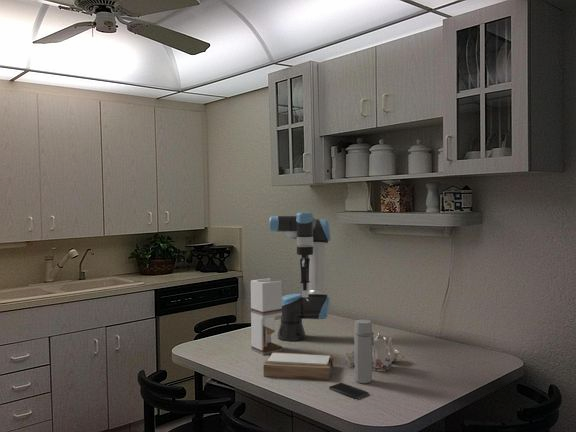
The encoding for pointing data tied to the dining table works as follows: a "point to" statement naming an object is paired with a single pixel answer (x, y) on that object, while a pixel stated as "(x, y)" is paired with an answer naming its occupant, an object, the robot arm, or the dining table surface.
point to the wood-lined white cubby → (265, 314)
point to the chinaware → (379, 354)
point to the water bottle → (363, 351)
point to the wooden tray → (299, 369)
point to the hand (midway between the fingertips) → (305, 296)
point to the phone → (348, 391)
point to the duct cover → (299, 359)
